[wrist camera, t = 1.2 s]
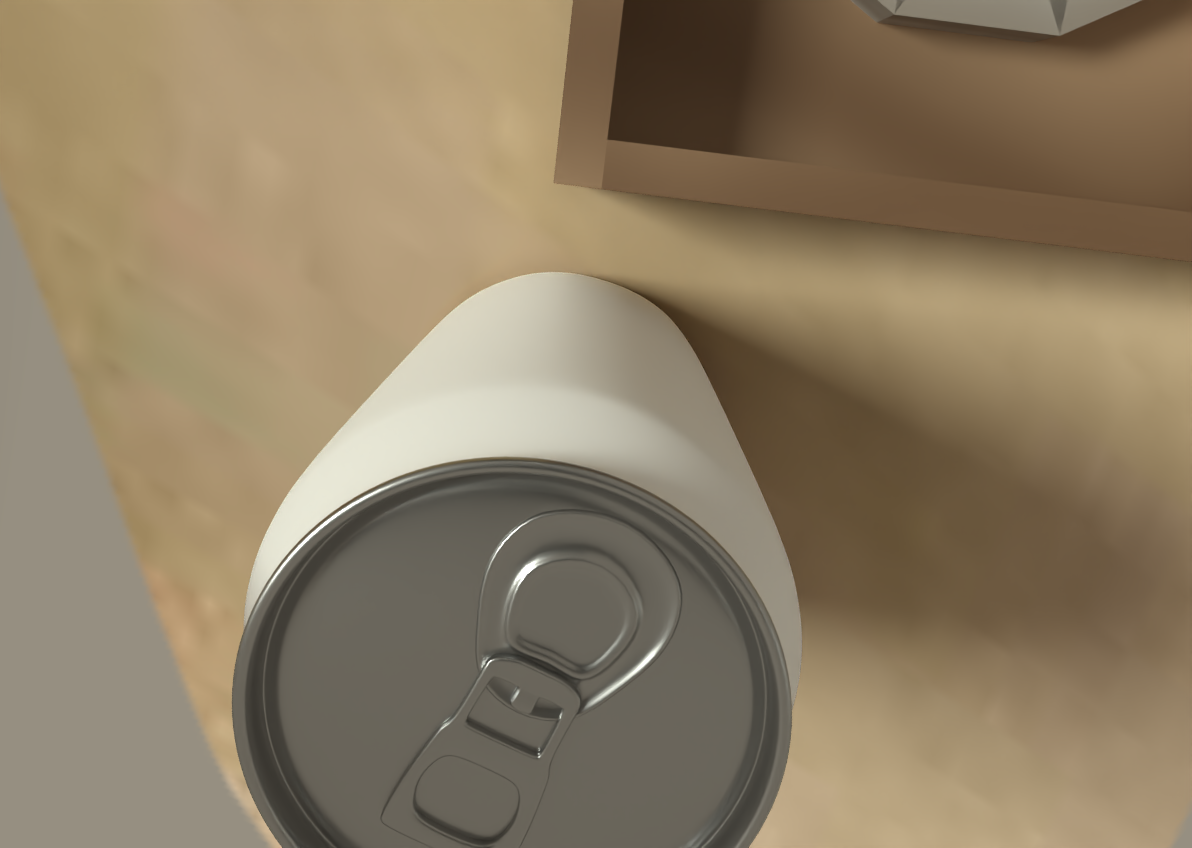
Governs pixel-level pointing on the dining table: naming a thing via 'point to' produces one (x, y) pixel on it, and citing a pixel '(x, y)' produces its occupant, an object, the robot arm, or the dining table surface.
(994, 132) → the walled box
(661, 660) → the can
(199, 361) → the dining table surface
